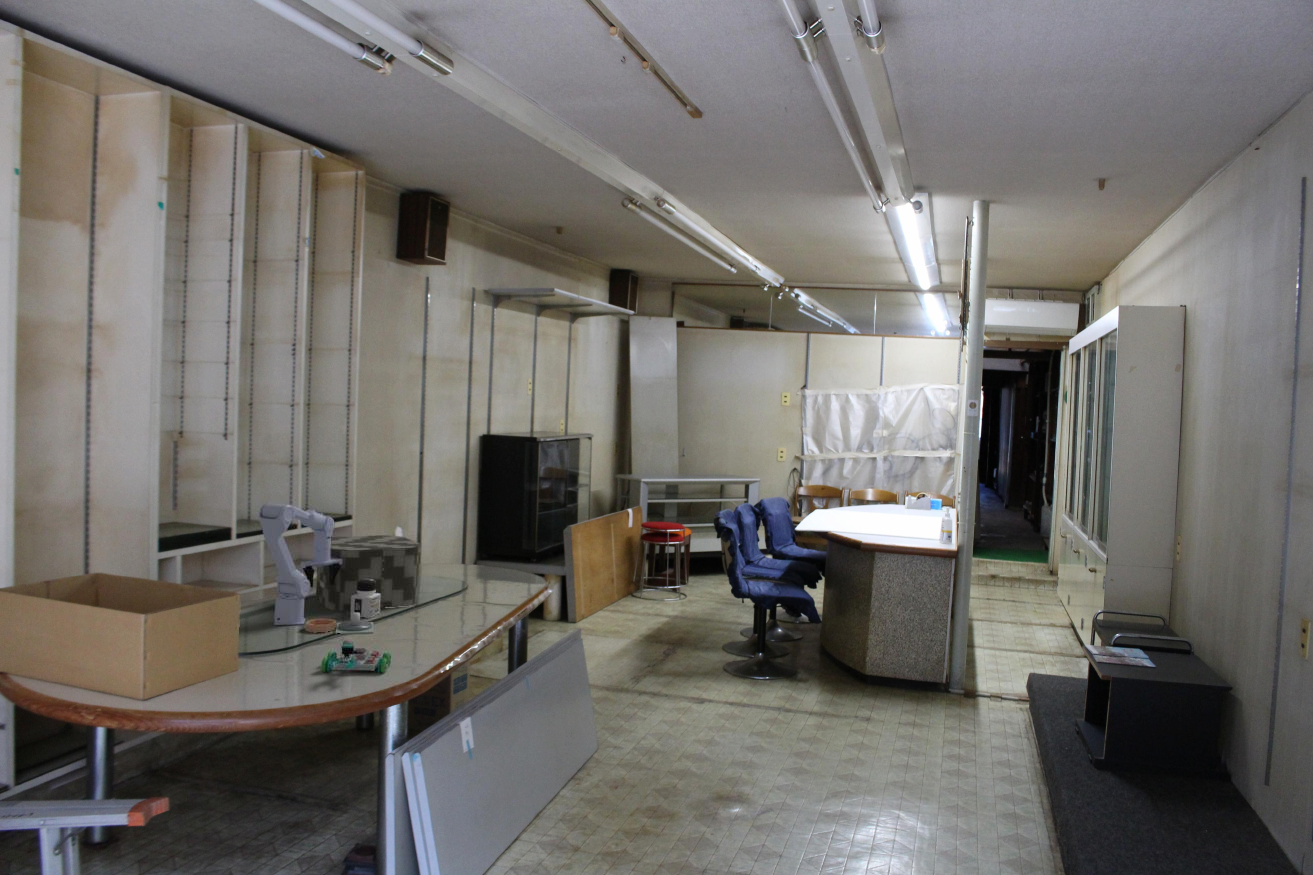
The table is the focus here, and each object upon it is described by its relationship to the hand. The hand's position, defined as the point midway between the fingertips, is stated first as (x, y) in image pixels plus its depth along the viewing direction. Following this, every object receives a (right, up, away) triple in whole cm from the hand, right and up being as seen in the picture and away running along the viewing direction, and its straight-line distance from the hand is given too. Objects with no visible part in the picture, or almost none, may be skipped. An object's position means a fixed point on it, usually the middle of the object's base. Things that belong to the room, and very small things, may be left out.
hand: (321, 585), depth 327 cm
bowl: (+8, -11, -22) cm, 26 cm away
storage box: (+8, -11, +27) cm, 30 cm away
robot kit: (+35, -14, -69) cm, 78 cm away
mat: (+18, -12, -18) cm, 29 cm away
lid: (+18, -11, -18) cm, 28 cm away
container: (+16, -11, +2) cm, 19 cm away
